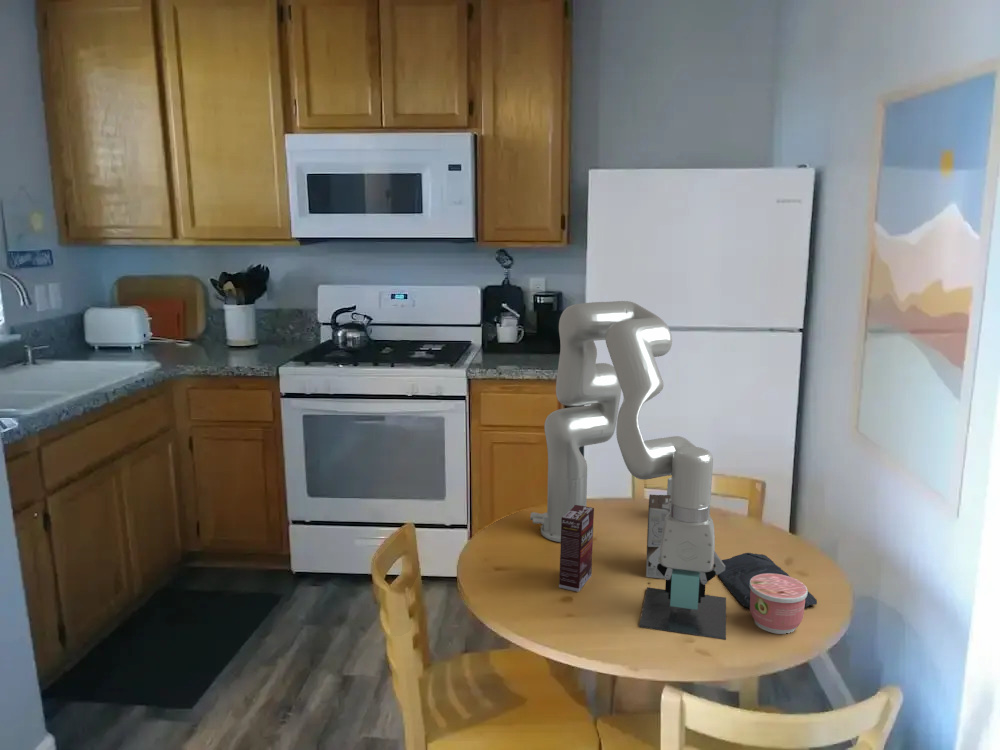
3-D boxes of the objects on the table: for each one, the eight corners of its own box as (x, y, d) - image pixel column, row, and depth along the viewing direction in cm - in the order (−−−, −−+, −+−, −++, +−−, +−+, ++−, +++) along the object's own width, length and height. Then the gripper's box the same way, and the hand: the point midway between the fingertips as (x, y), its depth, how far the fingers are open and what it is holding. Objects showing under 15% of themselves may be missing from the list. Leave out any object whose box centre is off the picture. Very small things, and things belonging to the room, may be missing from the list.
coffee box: (675, 580, 170) (679, 510, 166) (645, 577, 171) (648, 507, 167) (675, 562, 178) (678, 495, 175) (646, 559, 180) (649, 492, 176)
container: (740, 609, 157) (743, 572, 156) (793, 610, 157) (797, 573, 155) (755, 637, 147) (758, 598, 145) (812, 638, 147) (815, 599, 145)
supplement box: (579, 593, 164) (581, 521, 161) (558, 588, 166) (559, 517, 163) (593, 575, 172) (595, 507, 168) (572, 571, 174) (573, 503, 170)
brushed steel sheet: (639, 627, 151) (640, 593, 149) (647, 589, 166) (648, 558, 164) (725, 639, 146) (728, 604, 145) (725, 599, 161) (728, 567, 160)
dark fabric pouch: (772, 563, 178) (774, 543, 177) (822, 610, 157) (824, 588, 156) (707, 565, 177) (709, 545, 176) (748, 613, 155) (750, 591, 154)
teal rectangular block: (670, 606, 154) (671, 573, 152) (671, 593, 159) (673, 562, 157) (697, 609, 152) (699, 577, 151) (698, 597, 157) (700, 565, 156)
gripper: (643, 513, 150) (639, 600, 154) (735, 523, 146) (729, 613, 150) (646, 499, 157) (643, 583, 161) (735, 508, 153) (729, 594, 157)
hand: (684, 596), depth 155 cm, fingers closed on teal rectangular block, 4 cm apart
